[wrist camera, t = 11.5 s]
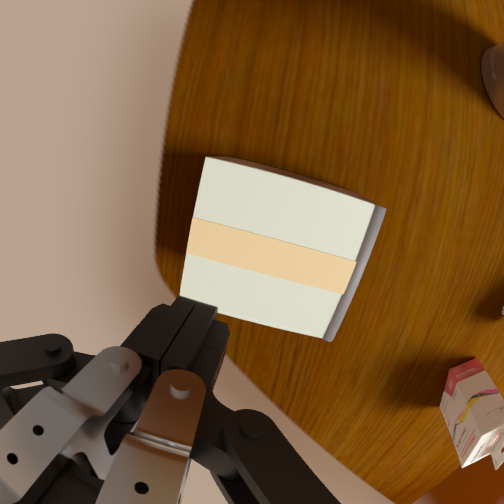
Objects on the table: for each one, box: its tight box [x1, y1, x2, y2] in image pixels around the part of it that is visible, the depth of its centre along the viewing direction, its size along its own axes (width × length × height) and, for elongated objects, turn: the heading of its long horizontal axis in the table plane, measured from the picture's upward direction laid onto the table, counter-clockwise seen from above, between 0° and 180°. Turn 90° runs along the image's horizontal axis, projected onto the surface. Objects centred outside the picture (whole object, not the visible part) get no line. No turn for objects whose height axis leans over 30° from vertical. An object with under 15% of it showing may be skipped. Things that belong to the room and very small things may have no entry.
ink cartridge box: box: [440, 358, 504, 469], centre depth 21 cm, size 9×5×15 cm, turn 15°
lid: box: [180, 157, 386, 341], centre depth 18 cm, size 11×10×1 cm
